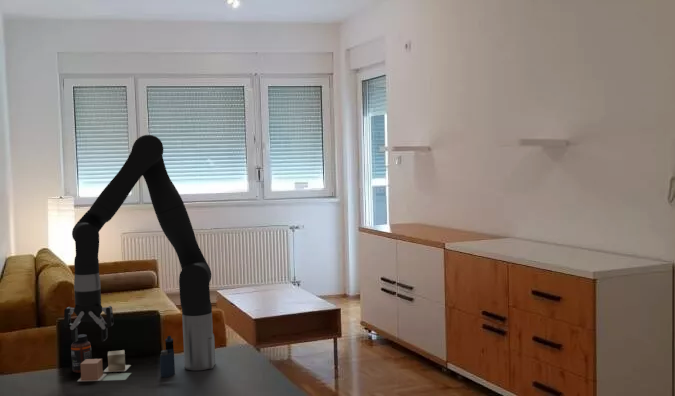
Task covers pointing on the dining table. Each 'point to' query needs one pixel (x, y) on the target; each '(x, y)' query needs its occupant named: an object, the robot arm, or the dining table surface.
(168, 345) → the vaping device
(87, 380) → the tile
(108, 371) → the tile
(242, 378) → the dining table surface
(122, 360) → the maple block
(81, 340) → the supplement bottle
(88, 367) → the terracotta block
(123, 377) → the sage pad
